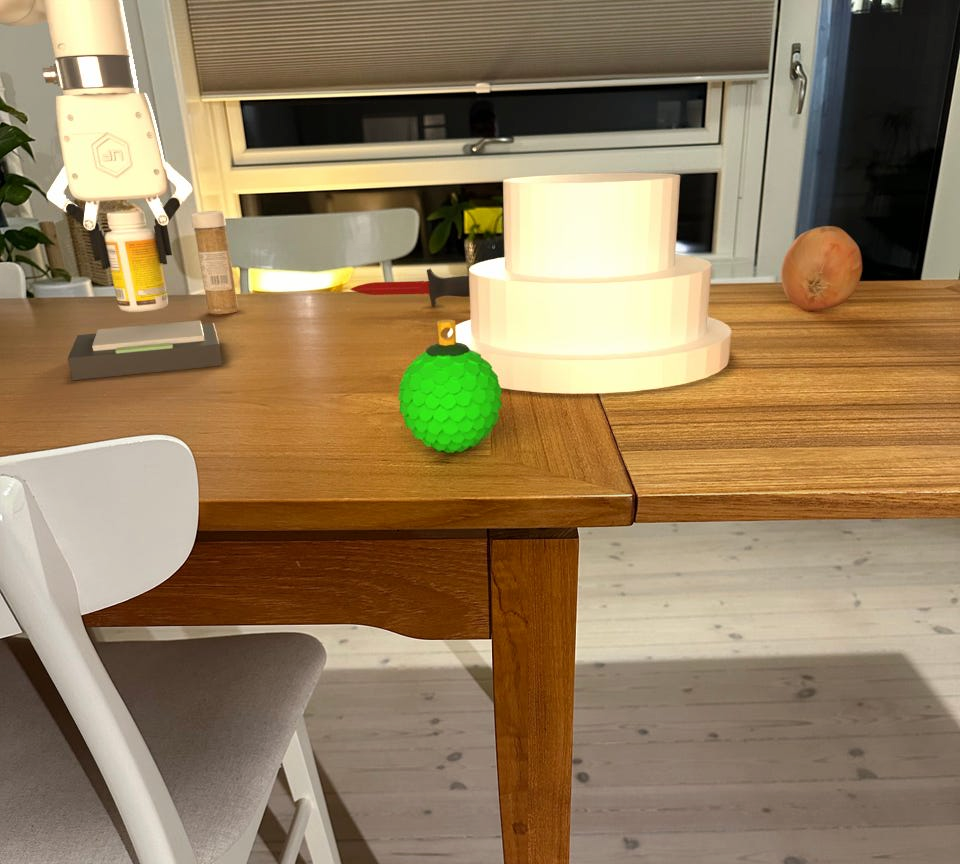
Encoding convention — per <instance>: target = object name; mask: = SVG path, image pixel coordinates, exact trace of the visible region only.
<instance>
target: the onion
mask: <svg viewBox="0 0 960 864" xmlns="http://www.w3.org/2000/svg"><path fill="white" fill-rule="evenodd" d="M862 258H863V257H862V253H861V250H860V247H859V245H858V243H857V242H856V241H855V240H854V239H853V238H852V237H851V236H850V235H849V234H848V233H847V232H846V231H845V230H843V229H842V228H841V227H838V226H833V225H825V226H819V227H815V228H812V229H809V230H807V231H804V232H803V233H801V234H800V235H798V236H797V237H796V239H794V240H793V242H792V243H791V245H790V247H789V248H788V250H787V251H786V253H785V255H784V257H783V261H782V264H781V270H780V281H781V285H782V289H783V291H784V294H785V296H786V297H787V298H788V300H789V301H790V302H792V304H794V306H796V307H799V308H800V309H801V310H803V311H809V312H810V311H811V312H813V311H821V310H827V309H831V308H836V307H838V306H840V305H843V304H844V303H845V302H846V301H847V300H849V298H850V297H851V296H852V295H853V294H855V291H856V290H857V288H858V286H859V285H860V282H861V281H860V280H861V277H862V272H863V259H862Z"/></svg>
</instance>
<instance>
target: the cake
mask: <svg viewBox="0 0 960 864" xmlns="http://www.w3.org/2000/svg"><path fill="white" fill-rule="evenodd" d="M680 184H681V175H680V174H675V173H663V172H661V173H658V172H603V173H601V172H600V173H599V172H598V173H570V174H569V173H567V174H566V173H565V174H551V175H548V174H547V175H534V176H521V177H513V178H506V179H503V181H502V190H503V191H502V193H503V194H502V195H503V196H502V197H503V251H504V252H503V253H504V254H503V256H504V257H497V258H494V259H493V258H492V259H488V260H484V261H480V262H477V263H475V264H473V265H471V266H470V267H469V268H468V276H469V286H470V297H469V310H470V311H469V313H470V319H468V320H466V321H462V322H460V323H457V324H456V342H458V343H463V344H465V345H467V346H468V347H469V349H470V350H472V351H475V352H477V353H479V354H480V355H481V358H483V359H484V360H486V361H487V362H488V363H490V365H491V366H492V370H493V371H494V372H495V373H496V374H497V376H498V380H499V382H498V383H499V385H500V387H501V389H505V390H512V391H519V392H520V391H521V392H533V393H544V394H547V393H548V394H570V395H573V394H574V395H575V394H613V393H626V392H639V391H648V390H656V389H663V388H668V387H674V386H680V385H685V384H689V383H692V382H696V381H700V380H704V379H706V378H709V377H710V376H714V375H717V374H719V373H720V372H721V371H723V370H724V369H725V368H726V367H727V366H728V364H729V361H730V354H731V352H730V351H731V342H732V341H731V340H732V329H731V328H730V326H729V325H728V324H726V323H725V322H723V321H721V320H720V319H717V318H714V317H710V316H709V306H710V305H709V304H710V293H711V282H712V281H711V280H712V269H713V268H712V267H713V264H712V263H711V262H710V261H709V260H706V259H705V258H701V257H696V256H693V255H686V254H678V253H676V249H677V233H678V219H679V217H678V216H679V201H680ZM452 333H453V330H452V328H449V331H448V332H447V337H450V336H451V335H452Z"/></svg>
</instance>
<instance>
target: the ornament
mask: <svg viewBox="0 0 960 864" xmlns="http://www.w3.org/2000/svg"><path fill="white" fill-rule="evenodd" d="M436 324H437V335H438V342H437V343H433V344H431V345H429V346H428V347H427V348H425V351H423V353H421V354H419V355H417V357H415V358H414V359H413V360H412V361H411V364H410V365H408V366H407V367H406V370H404V372H403V374H402V379H401V380H400V384H399V386H398V390H399V393H398V395H397V398H398V402H399V413H400V414H402V416H403V421H404V425H405V427H406V428H407V429H410V430H411V433H412V435H413V437H414V438H415V439H416V440H419V439H420V440H421V442H422V444H423V445H424V446H426V447H429V448H431V447H432V448H433V449H434V450H435V451H438V452H442V451H443V452H445V453H455V452H459V453H460V452H461V453H462V452H463V451H466V450H468V449H469V448H470V447H471V448H472V447H475V446H477V445H478V444H480V443H481V442H482V440H483V438H487V437H488V436H489V435H490V434H491V433H492V432H493V428H494V426H495V425H497V423H498V420H500V419H499V418H500V417H499V410H502V409H503V402H502V398H501V394H502V393H503V390H502V389H503V388H501V387H500V385H499V383H498V382H499V380H498V376H497V374H496V373H495V372H494V371H493V370H492V366H491V365H490V363H488V362H487V361H486V360H484V359H483V358H481V355H480V354H479V353H477V352H475V351H472V350H470V349H469V347H468V346H467V345H465V344H463V343H458V342H456V325H457V324H456V320H454V319H440V320H437V321H436ZM446 328H449V329H451V328H452V330H453V333H452V335H451V336H450V337H448V336H447V337H443V336H442V335H441V334H442V331H443V330H444V329H446Z"/></svg>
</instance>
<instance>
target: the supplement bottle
mask: <svg viewBox="0 0 960 864" xmlns="http://www.w3.org/2000/svg"><path fill="white" fill-rule="evenodd" d="M106 219H107V225H108V228H109V229H110V230H111V231H107V232H106V233H104V242H105V247H106V251H107V256H108V261H109V265H110V267H109V269H110V270H109V271H110V274H111V279H112V283H113V288H114V293H115V297H116V303H117V306H118V308H119V309H120V310H121V311H123V312H125V313H144V312H145V313H146V312H153V311H158V310H162V309H164V308H166V307H167V306H168V304H169V298H168V291H167V287H166V282H165V277H164V276H165V275H164V272H163V266H162V265H163V264H162V263H161V262H160V257H159V252H158V246H157V241H156V236H155V230H154V229H151V228H146V227H147V220H146V215H145V211H143V210H133V209H132V210H118V211H112V212H111V211H110V212H107V213H106Z"/></svg>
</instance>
